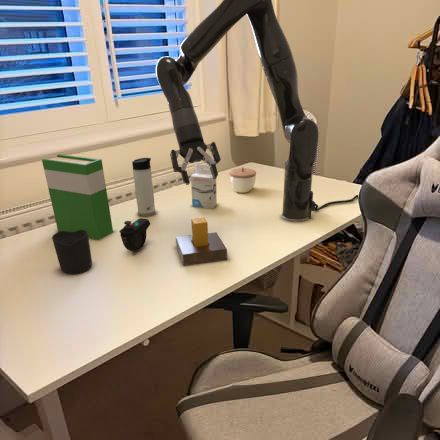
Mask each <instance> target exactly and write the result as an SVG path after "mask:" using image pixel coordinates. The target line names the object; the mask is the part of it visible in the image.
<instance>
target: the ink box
mask: <svg viewBox="0 0 440 440" xmlns="http://www.w3.org/2000/svg"><path fill="white" fill-rule="evenodd" d="M210 167H211V166H209V165H208V164H197V163H196V164H195V165H194V169H195V170H194V171H195V173H193V174H191V175H190V186H191V203H192V204H191V206H192V207H197V208H207V209H214V208H215V207H216V206H217V204H218V202H217V201H218V200H217V198H218V197H217V196H218V195H217V193H218V192H217V178H216V179H213V177H212V174H211V170H210Z"/></svg>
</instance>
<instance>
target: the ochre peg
mask: <svg viewBox="0 0 440 440" xmlns="http://www.w3.org/2000/svg"><path fill="white" fill-rule="evenodd" d="M190 221H191V235H192V240H193V246H194V247H199V246H207V245H208V233H209V222H208V221H207V219H206V217H205V216H204V217H196V218H191V219H190Z"/></svg>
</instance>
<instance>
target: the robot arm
mask: <svg viewBox="0 0 440 440" xmlns="http://www.w3.org/2000/svg"><path fill="white" fill-rule="evenodd" d="M245 16H246V17H247V18H248V21H249V24H250V26H251V29H252V33H253V38H254V41H255V46H256V50H257V54H258V58H259V61H260V64H261V67H262V71H263V73H264V77H265V79H266V82H267V84H268V87H269V90H270V92H271V95H272V97H273V99H274V101H275V104H276V107H277V110H278V114H279V118H280V123H281V127H282V132H283V136H284V139H285V140H286V141H287V143H289V151H288V157H287V158H286V159H285V161H284V162H285V163H284V176H283V177H284V179H283V195H282V214H281V218H282V219H283V220H284V221H288V222H293V223H301V222H305V221H309V220H311V219H312V214H313V213H312V212H319V210H322V209H324V208H326V207H328V206H330V205H334V204H336V205H337V204H346V203H351V202H354V201H355V200H357V199H359V198H358V195H359V194H356V195H354V196H353V197H352V198H349V199H343V200H335V201H328V202H326V203H324V204H323V205H321V206H319V205H318V204H317V203H316V202H315V201H314V198H313V197H314V191H313V190H312V183H313V171H314V164H315V162H316V159H317V154H318V146H319V132H320V131H319V126H318V125H317V123H316V122H315V121H314V120H312V119H310V118H308V117H307V115H306V113H305V111H304V109H303V106H302V103H301V100H300V95H299V81H298V80H299V79H298V70H297V65H296V62H295V59H294V55H293V52H292V49H291V47H290V44H289V41H288V39H287V37H286V35H285V33H284V31H283V29H282V26H281V25H280V22H279V20H278V18H277V16H276V12H275V8H274V4H273V0H222V1H221V2H220V3H219V5H217V6H216V8H215V9H213V10H212V12H211V13H210V14H208V15H207V16H206V17H205V18H204V19H203V20H202V21H201V22H200V23H198V25H197V26H196V27H195V28H194V29H193V30H192V31H191V32H190V33H189V34H188V35H187V37H186V38H185V39H184V40H183V41H182V43H181V44H180V46H179V49H180V55H179V56H178V58H177V59H175V58H173V57H172V56H162V57H160V58H159V59H158V61H157V62H156V66H155V75H156V79H157V81H158V85H159V87H160V89H161V91H162V93H163V95H164V97H165V99H166V102H167V106H168V110H169V112H170V118H171V123H172V127H173V131H174V134H175V136H176V141H177V145H178V148H179V149H177V150H175V149H171V150H170V153H169V155H170V156H169V157H170V160H171V165H172V169H173V170H172V171H173V172H174V173H180V175H181V178H182V179H181V180H182V182H183V184H185V185H186V186H188V185H191V180H190V178H189V175H188V171H187V170H186V169H187V167H188V164H193V163H196V162H197V163H199V162H201V161H202V162H203V163H205V164H206V165H209V166H211V167H210V170H211V174H212V177H213V179H216V180H217V178H218V176H219V173H218V172H219V171H218V168H217V165H218V164H219V163H220V162H221V160H222V158H221V155H220V153H219V150H218V147H217V144H216V142H215V141H212V142H211V143H207V144H206V143H205V141H204V140H205V139H204V136H203V133H202V129H201V125H200V122H199V119H198V116H197V113H196V111H195V107H194V103H193V100H192V96H191V95H190V93H189V92H188V90H187V89H186V87H185V85H186V84H187V83H188V82H189V80H190V79H191V77H192V76H193V74H194V73H195V71H196V69H197V67H198V65H199V64H200V63H201V62H202V61H203V59H205V58H206V56H208V54H209V53H210V52H211V51H212V50H213V49H214V48H215V47H216V46H217V44H219V42H220V41H222V39H223V38H224V37H225V35H227V34H228V32H230V30H231V29H232V28H233V27H234V26H235V25H237V23H238V22H239V21H240V20H241V19H243V18H244V17H245ZM207 150H208V151H209V152H211V155H210V154H209V153H208V152H207ZM179 156H181V158H183V162H182V164H181V166H179V161H178V157H179Z"/></svg>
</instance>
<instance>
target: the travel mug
mask: <svg viewBox="0 0 440 440" xmlns="http://www.w3.org/2000/svg"><path fill="white" fill-rule="evenodd" d="M151 161H152V158H151V157H140V158H136V159H134V160H132V162H131V166H132V174H133V184H134V191H135V198H136V207H137V213H138V215H139V216H140V217H150V216H153V215H155V214H156V205H155V195H154V186H153V176H152V175H153V174H152V167H151Z"/></svg>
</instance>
